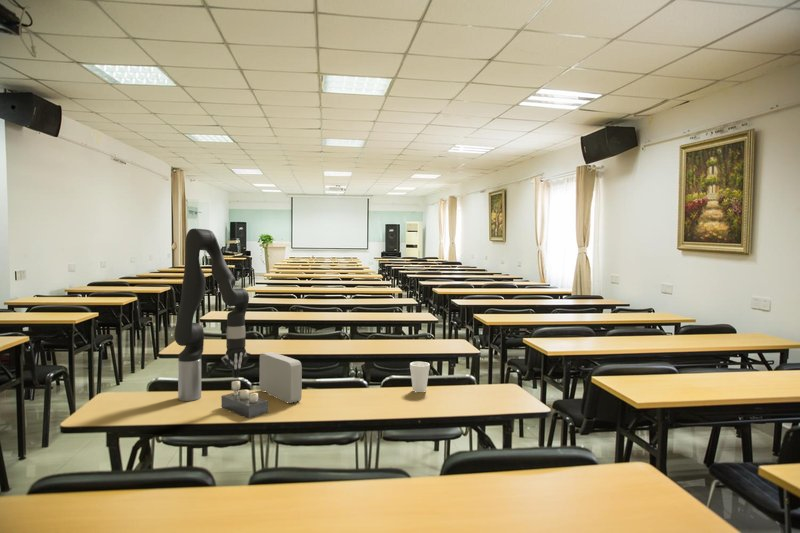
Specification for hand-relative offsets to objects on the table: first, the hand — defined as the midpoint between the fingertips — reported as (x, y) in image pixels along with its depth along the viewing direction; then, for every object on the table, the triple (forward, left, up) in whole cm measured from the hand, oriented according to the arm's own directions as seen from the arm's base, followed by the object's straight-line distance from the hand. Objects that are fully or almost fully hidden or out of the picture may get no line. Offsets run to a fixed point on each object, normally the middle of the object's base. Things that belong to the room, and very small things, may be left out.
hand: (235, 377), depth 194 cm
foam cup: (+44, +69, -13) cm, 84 cm away
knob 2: (+6, 0, -12) cm, 14 cm away
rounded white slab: (+1, +21, -13) cm, 25 cm away
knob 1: (0, 0, -10) cm, 10 cm away
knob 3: (+13, 0, -12) cm, 18 cm away
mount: (+6, 0, -12) cm, 14 cm away
